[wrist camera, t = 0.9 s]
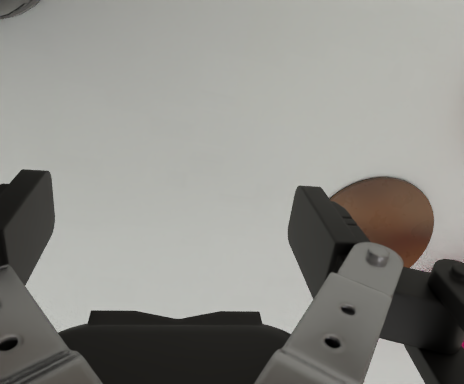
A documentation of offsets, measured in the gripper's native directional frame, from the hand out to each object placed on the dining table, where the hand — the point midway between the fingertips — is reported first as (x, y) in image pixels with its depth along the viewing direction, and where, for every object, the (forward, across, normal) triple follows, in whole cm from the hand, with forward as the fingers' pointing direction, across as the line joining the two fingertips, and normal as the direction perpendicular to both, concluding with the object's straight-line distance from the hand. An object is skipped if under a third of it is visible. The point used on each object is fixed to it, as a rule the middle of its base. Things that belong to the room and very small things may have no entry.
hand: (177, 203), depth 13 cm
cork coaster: (+18, -18, +12) cm, 29 cm away
